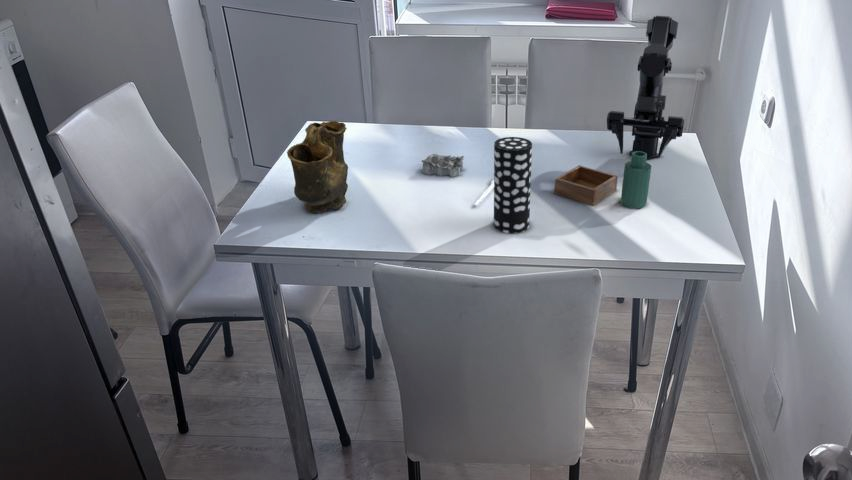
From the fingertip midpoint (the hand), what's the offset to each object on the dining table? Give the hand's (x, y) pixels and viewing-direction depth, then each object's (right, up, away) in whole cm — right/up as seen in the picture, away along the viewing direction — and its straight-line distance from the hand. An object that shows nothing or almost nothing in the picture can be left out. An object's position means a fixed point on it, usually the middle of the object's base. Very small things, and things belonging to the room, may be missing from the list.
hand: (640, 155), depth 173 cm
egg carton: (-50, -1, +18) cm, 53 cm away
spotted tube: (-32, -18, -9) cm, 38 cm away
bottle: (-1, -12, +2) cm, 12 cm away
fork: (-37, -8, +7) cm, 39 cm away
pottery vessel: (-78, -12, 0) cm, 79 cm away
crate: (-13, -8, +7) cm, 17 cm away
